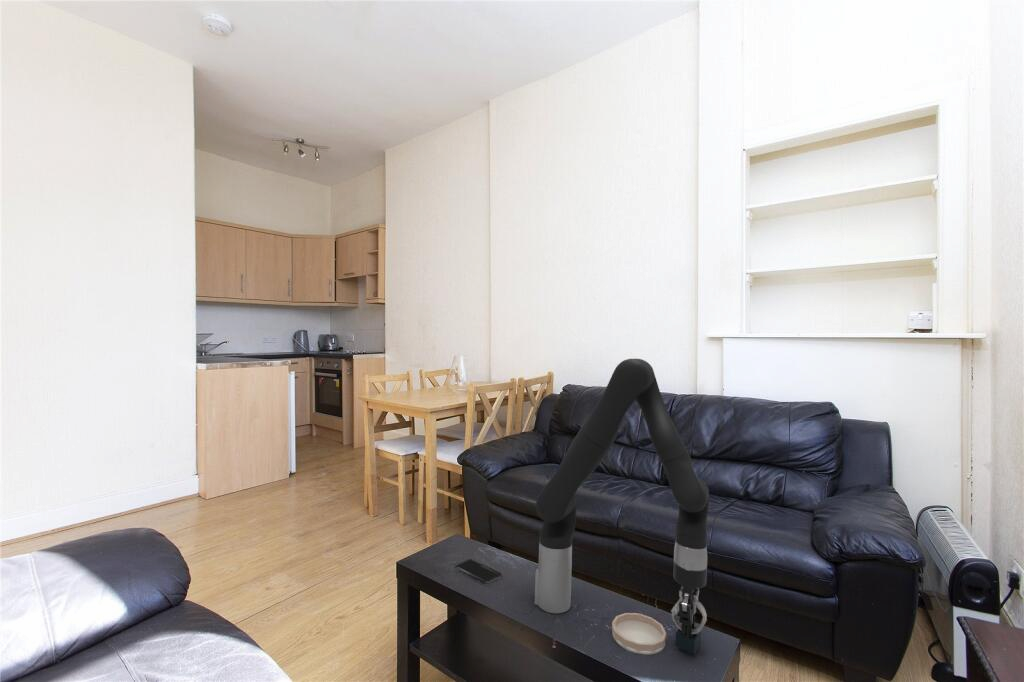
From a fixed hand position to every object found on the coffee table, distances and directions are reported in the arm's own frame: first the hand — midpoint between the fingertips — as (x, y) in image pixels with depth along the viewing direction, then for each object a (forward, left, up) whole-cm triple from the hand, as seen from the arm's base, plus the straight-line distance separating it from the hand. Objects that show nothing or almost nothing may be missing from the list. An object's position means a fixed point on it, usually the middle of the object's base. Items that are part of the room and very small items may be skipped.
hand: (687, 632), depth 109 cm
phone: (-63, +2, -4) cm, 63 cm away
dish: (-11, -2, -4) cm, 12 cm away
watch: (0, 0, -3) cm, 3 cm away
